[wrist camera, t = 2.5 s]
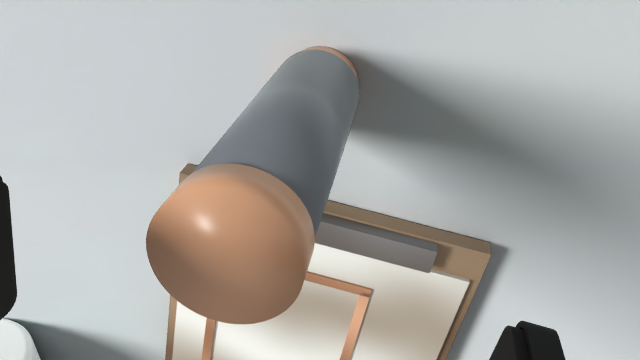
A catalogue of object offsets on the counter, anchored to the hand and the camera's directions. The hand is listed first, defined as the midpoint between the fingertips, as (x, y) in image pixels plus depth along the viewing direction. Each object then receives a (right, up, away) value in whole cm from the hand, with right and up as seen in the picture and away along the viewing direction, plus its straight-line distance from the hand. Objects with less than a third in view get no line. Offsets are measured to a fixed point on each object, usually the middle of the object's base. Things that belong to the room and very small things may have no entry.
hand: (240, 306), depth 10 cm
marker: (+1, +6, +9) cm, 11 cm away
